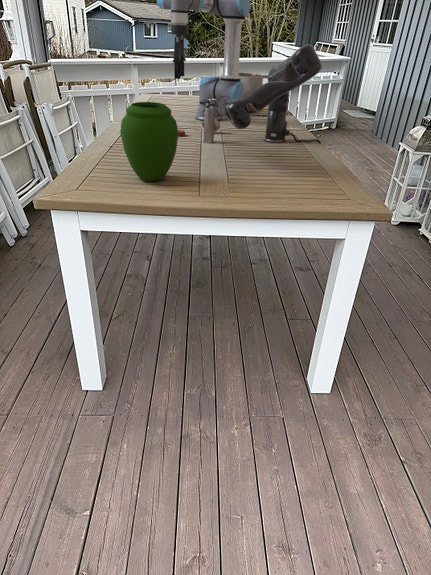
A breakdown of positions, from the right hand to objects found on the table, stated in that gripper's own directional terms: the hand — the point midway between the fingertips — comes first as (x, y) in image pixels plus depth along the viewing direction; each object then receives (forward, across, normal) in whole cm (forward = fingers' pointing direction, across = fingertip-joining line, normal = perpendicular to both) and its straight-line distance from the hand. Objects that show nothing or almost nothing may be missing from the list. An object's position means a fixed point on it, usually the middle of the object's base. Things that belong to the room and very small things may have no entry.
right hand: (216, 101), depth 180 cm
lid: (+26, -11, -18) cm, 33 cm away
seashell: (+31, +7, -20) cm, 37 cm away
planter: (+99, +47, -20) cm, 111 cm away
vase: (-44, -35, -20) cm, 59 cm away
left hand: (+26, -11, +7) cm, 29 cm away
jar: (+10, 0, -20) cm, 22 cm away
